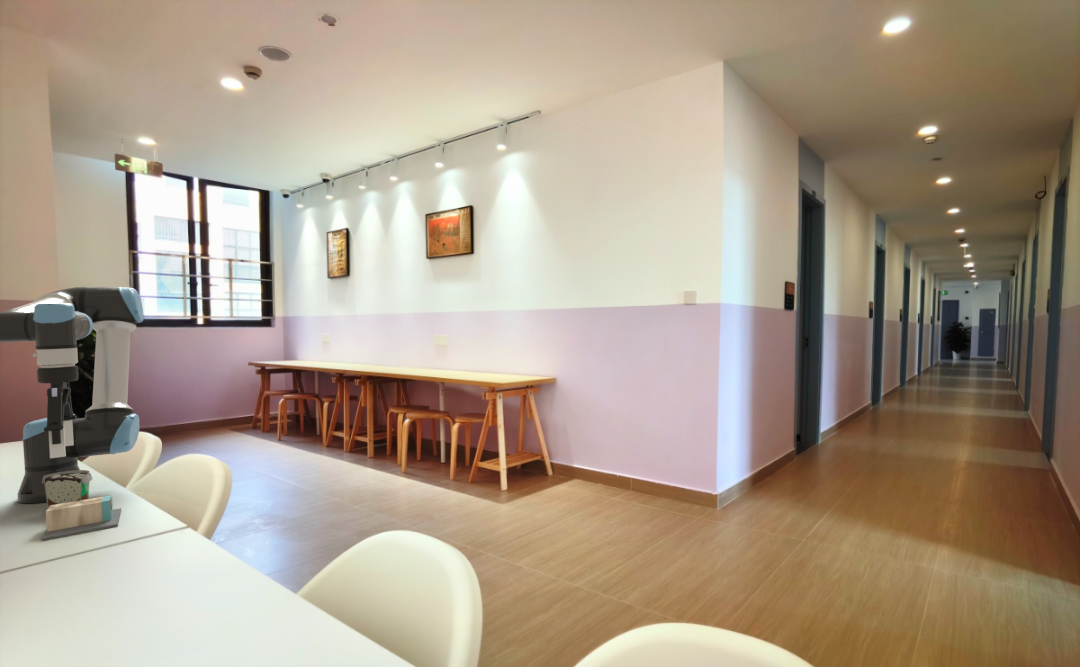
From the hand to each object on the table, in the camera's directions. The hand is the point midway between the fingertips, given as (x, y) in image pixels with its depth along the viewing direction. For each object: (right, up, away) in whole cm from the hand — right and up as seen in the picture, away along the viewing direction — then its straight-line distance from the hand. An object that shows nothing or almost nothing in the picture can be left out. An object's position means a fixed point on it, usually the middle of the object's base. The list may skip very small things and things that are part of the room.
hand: (62, 451), depth 132 cm
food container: (-9, -19, +14) cm, 26 cm away
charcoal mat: (+3, -19, +2) cm, 19 cm away
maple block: (-2, -16, -2) cm, 16 cm away
